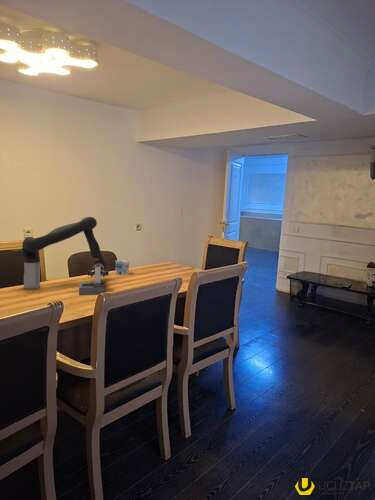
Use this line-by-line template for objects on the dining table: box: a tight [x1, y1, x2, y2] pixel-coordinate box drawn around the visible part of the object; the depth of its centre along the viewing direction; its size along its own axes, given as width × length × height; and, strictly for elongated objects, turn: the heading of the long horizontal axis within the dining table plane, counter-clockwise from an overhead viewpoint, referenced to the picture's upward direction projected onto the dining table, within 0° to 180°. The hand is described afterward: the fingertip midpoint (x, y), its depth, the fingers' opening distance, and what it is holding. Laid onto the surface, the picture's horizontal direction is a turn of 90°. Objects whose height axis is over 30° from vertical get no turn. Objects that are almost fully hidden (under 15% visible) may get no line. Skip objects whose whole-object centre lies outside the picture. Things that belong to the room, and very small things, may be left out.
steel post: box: [94, 266, 102, 284], centre depth 223 cm, size 6×6×15 cm
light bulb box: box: [114, 259, 130, 276], centre depth 279 cm, size 11×7×11 cm, turn 105°
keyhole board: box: [78, 280, 106, 296], centre depth 224 cm, size 16×12×6 cm
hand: (97, 275), depth 221 cm, fingers open, 6 cm apart
